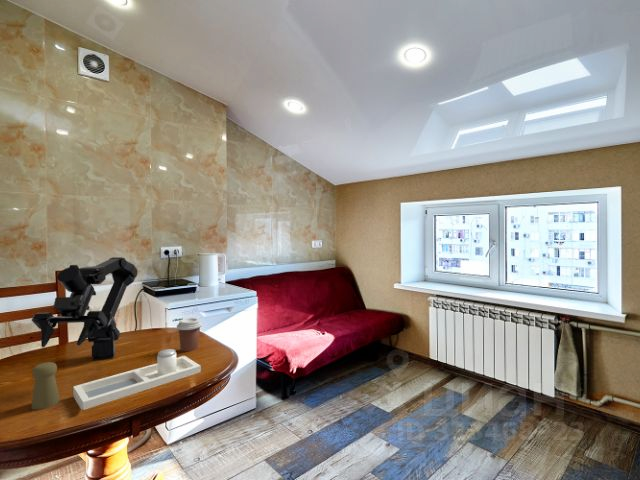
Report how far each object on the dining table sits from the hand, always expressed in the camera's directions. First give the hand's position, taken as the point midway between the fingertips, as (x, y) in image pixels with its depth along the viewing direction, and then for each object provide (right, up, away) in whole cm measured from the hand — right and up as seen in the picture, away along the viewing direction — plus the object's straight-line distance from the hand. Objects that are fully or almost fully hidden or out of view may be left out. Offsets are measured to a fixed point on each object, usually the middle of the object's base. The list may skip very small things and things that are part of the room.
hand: (60, 345), depth 99 cm
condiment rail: (+21, -13, +4) cm, 26 cm away
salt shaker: (+27, -12, +10) cm, 31 cm away
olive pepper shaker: (+1, -14, -7) cm, 15 cm away
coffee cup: (+25, -12, +32) cm, 43 cm away
